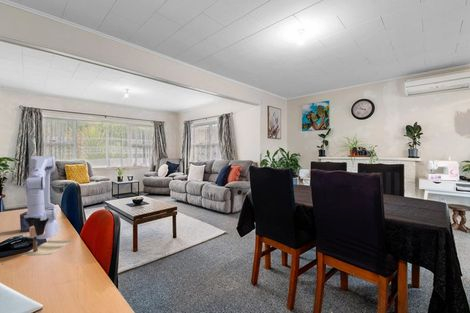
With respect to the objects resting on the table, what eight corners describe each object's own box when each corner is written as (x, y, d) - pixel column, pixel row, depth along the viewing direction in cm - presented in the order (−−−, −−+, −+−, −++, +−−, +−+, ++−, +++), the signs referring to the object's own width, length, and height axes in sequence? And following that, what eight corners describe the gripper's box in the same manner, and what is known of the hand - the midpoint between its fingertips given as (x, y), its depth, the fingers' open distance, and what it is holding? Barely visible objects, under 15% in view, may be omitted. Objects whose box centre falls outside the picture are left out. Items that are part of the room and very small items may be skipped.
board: (48, 243, 111) (48, 230, 111) (73, 241, 112) (73, 229, 112) (20, 258, 95) (19, 244, 95) (50, 257, 96) (49, 243, 96)
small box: (19, 232, 127) (18, 214, 126) (26, 228, 133) (26, 211, 133) (41, 230, 130) (40, 212, 129) (47, 226, 136) (47, 209, 136)
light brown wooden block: (28, 235, 99) (27, 227, 99) (42, 232, 103) (41, 223, 103) (32, 237, 97) (32, 228, 97) (46, 234, 101) (46, 225, 101)
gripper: (17, 204, 100) (19, 233, 100) (31, 207, 93) (32, 239, 93) (37, 200, 106) (38, 228, 106) (51, 204, 99) (53, 234, 99)
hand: (37, 233), depth 100 cm, fingers closed on light brown wooden block, 5 cm apart
